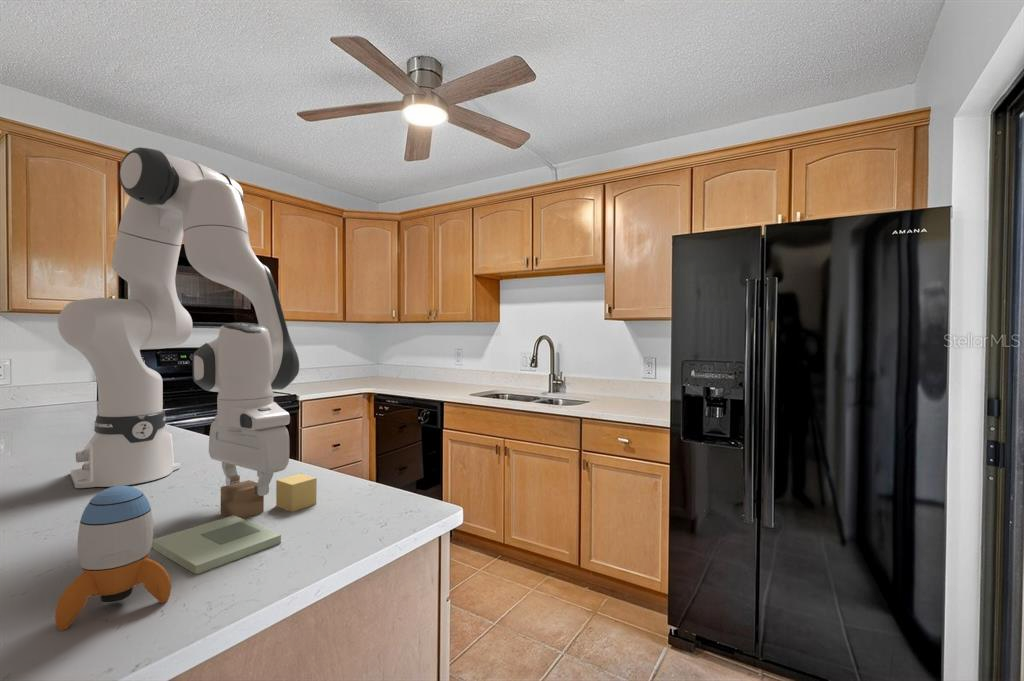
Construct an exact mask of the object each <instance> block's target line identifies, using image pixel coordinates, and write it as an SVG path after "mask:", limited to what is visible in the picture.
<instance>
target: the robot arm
mask: <svg viewBox="0 0 1024 681" xmlns="http://www.w3.org/2000/svg"><path fill="white" fill-rule="evenodd" d="M118 174H119V183H120V185H121V187H122V189H123V191H124V192H125V194H126V195H128V196H129V198H128V201H127V202H126V205H125V207H124V209H123V213H122V215H121V219H120V222H119V226H118V231H117V235H116V240H115V244H114V250H113V254H112V258H111V267H112V269H113V271H114V273H116V275H117V276H119V277H120V278H121V279H123V280H124V281H126V282H127V284H128V288H129V298H128V299H125V298H114V297H113V298H112V297H111V298H110V297H93V298H92V297H91V298H83V299H76V300H73V301H70V302H68V303H67V304H66V305H65V306H64V308H62V310H61V311H60V313H59V315H58V319H57V328H58V332H59V334H60V336H61V338H62V339H63V340H64V342H65V343H67V345H69V346H70V347H73V348H74V349H75V350H77V351H78V352H79V353H81V355H83V356H84V357H85V359H86V360H87V362H88V363H89V364H90V366H91V368H92V370H93V372H94V375H95V376H94V377H95V378H96V382H97V383H96V384H97V396H98V397H97V398H98V399H97V400H98V401H97V402H98V414H97V415H96V417H95V421H94V424H93V425H94V429H93V431H94V432H95V433H94V435H93V436H92V437H91V438H90V440H89V442H88V443H87V444H86V445H85V446H84V449H83V450H79V451H76V452H75V462H76V464H77V463H83V464H82V465H81V466H78V467H74V468H71V469H70V474H69V475H70V478H71V480H72V483H73V485H74V488H75V489H86V488H87V489H88V488H97V487H98V488H100V487H101V488H104V487H105V488H106V487H107V488H111V487H115V486H131V485H136V484H142V483H143V484H144V483H147V482H151V481H155V480H158V479H162V478H164V477H166V476H169V475H170V474H171V473H172V472H173V471H176V470H178V469H180V468H181V463H180V462H175V460H174V458H175V457H174V448H173V447H174V446H173V435H172V434H171V433H170V432H168V431H167V430H165V428H164V427H165V426H166V420H167V419H166V418H167V416H166V412H165V410H164V409H163V406H164V402H163V401H164V399H163V397H164V395H163V394H164V392H163V390H164V389H163V388H164V387H163V386H164V385H163V377H162V376H161V374H160V373H159V372H158V371H156V370H154V369H152V368H150V367H148V366H147V364H145V362H144V361H143V357H142V354H141V350H160V349H166V348H171V347H175V346H177V345H182V344H184V343H185V342H187V340H188V339H189V338H190V337H191V335H192V332H193V326H194V325H193V319H192V316H191V314H190V313H189V311H188V310H187V309H186V308H185V307H184V306H183V305H182V303H181V302H180V301H181V300H180V299H179V297H178V293H177V286H176V275H177V271H178V270H177V268H178V262H179V257H180V252H181V248H182V243H183V245H184V251H185V255H186V259H187V261H188V262H189V264H190V266H192V268H193V269H194V270H195V271H197V272H198V273H199V274H200V275H202V276H203V277H205V278H207V279H209V280H210V281H212V282H214V283H217V284H220V285H223V286H225V287H228V288H230V289H233V290H235V291H237V292H238V293H239V294H242V295H243V296H244V297H246V298H247V299H248V300H249V301H250V303H251V304H252V306H253V308H254V311H255V315H256V319H257V323H250V322H229V323H226V324H222V325H221V326H220V328H219V332H218V336H217V337H216V338H215V339H214V340H212V341H211V342H204V344H203V345H201V346H200V347H199V348H198V349H196V350H195V351H194V353H192V357H191V358H192V359H191V361H192V363H191V364H192V372H191V373H192V381H193V382H194V383H195V384H196V385H198V386H199V387H200V388H201V389H203V390H204V391H207V392H213V393H214V392H215V393H217V396H216V397H217V398H216V399H217V400H216V401H217V403H216V404H217V407H216V408H217V413H216V415H215V416H214V420H213V421H212V422H211V424H210V430H209V439H208V453H209V457H210V459H212V460H215V461H218V462H221V469H222V472H223V474H224V477H225V486H227V485H231V484H235V483H239V482H241V481H240V478H241V476H240V475H239V474H238V471H237V470H238V469H237V467H240V468H244V469H248V470H252V471H256V476H257V478H258V480H257V483H258V484H257V485H254V489H255V494H256V495H259V496H263V495H264V496H266V495H268V494H269V492H270V483H271V481H272V478H273V477H274V474H275V473H278V472H281V471H284V470H286V469H287V467H288V465H289V462H290V435H289V430H288V428H287V427H286V426H287V425H289V424H290V423H291V416H290V413H289V412H288V411H287V410H285V409H283V408H282V407H281V406H280V405H279V404H278V403H277V402H276V401H274V391H273V390H284V389H286V387H288V386H289V385H291V383H293V381H294V380H295V378H297V376H298V375H299V371H300V361H299V356H298V353H297V350H296V347H295V346H294V344H293V342H292V338H291V336H290V333H289V329H288V326H287V323H286V319H285V315H284V311H283V308H282V305H281V301H280V297H279V294H278V290H277V286H276V284H275V281H274V277H273V275H272V273H271V270H270V269H269V267H268V266H267V265H265V264H263V263H262V262H261V261H260V260H259V258H258V257H257V255H256V254H255V252H254V250H253V248H252V245H251V240H250V235H249V227H248V221H247V214H246V211H245V208H244V200H245V199H244V192H243V189H242V187H241V185H240V184H239V182H238V181H236V180H234V179H233V177H230V176H229V175H227V174H225V173H223V172H218V171H216V170H215V169H212V168H210V167H207V166H205V165H204V164H201V163H199V162H196V161H194V160H193V161H192V160H187V159H185V158H182V157H179V156H174V155H171V154H167V153H164V152H162V151H160V150H158V149H154V148H148V147H135V148H134V149H132V150H130V151H129V152H128V153H126V154H125V156H124V157H123V159H122V161H121V164H120V167H119V173H118Z"/></svg>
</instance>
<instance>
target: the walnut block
mask: <svg viewBox="0 0 1024 681" xmlns="http://www.w3.org/2000/svg"><path fill="white" fill-rule="evenodd" d="M257 484H258V482H256V481H253V480H250V479H248V480H243V481H240V482H239V483H235V484H231V485H223V486H220V515H221V516H223V517H225V516H226V517H229V516H233V515H235V516H237V517H239V518H242V519H245V518H246V519H247V518H248V517H252V516H256V515H260V514H262V513H264V512H265V511H264V507H265V505H264V501H265V500H264V499H265V495H263V496H259V495H256V494H255V489H254V485H257ZM226 517H225V518H226Z"/></svg>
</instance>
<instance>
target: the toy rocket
mask: <svg viewBox="0 0 1024 681" xmlns="http://www.w3.org/2000/svg"><path fill="white" fill-rule="evenodd" d="M153 537H154V518H153V512H152V508H151V504H150V502H149V499H148V498H147V496H146V495H145V494H144V493H143V491H141V490H140V489H138V488H136V487H133V486H131V485H124V486H112V487H107V488H106V489H103V490H101V491H99V492H98V493H97V494H95V495H94V496H93V497H92V498H91V499H90V500H89V502H88V504H87V505H86V506H85V508H84V510H83V512H82V514H81V517H80V522H79V526H78V534H77V555H78V560H79V565H80V567H81V570H82V573H81V574H80V575H78V576H77V577H76V578H75V579H73V580H72V581H71V582H70V584H69V585H68V586H67V587H66V588H65V590H64V591H63V593H62V594H61V595H60V597H59V599H58V601H57V603H56V607H55V611H54V612H55V613H54V619H55V620H54V621H55V626H56V628H57V629H58V631H60V632H62V631H65V630H67V629H68V628H69V627H70V626H71V625H72V624H73V622H74V620H75V619H76V617H78V615H79V614H80V612H81V611H82V610H83V609H84V608H85V606H86V603H88V602H87V601H88V598H89V597H91V596H97V595H98V596H100V601H101V602H102V603H107V604H108V603H116V602H119V601H122V600H124V599H126V598H128V597H130V596H131V595H132V594H133V587H135V586H138V585H140V584H143V587H144V588H145V590H146V591H147V592H148V593H149V594H150V595H151V596H152V597H154V599H156V600H157V601H158V602H159V603H160V604H164V603H167V602H168V600H169V599H170V597H171V589H172V582H171V578H170V575H169V572H167V570H166V569H165V568H164V566H162V565H161V564H160V562H157V561H155V560H153V559H152V558H149V556H150V553H151V549H152V548H151V546H152V540H153V539H154V538H153Z"/></svg>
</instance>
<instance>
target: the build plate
mask: <svg viewBox="0 0 1024 681" xmlns="http://www.w3.org/2000/svg"><path fill="white" fill-rule="evenodd" d="M281 543H282V535H281V534H280V533H278V532H275V531H272V530H271V529H270V530H269V529H268V528H265V527H263V526H260V525H259V524H256V523H253V522H251V521H249V520H246V519H245V518H243V519H242V518H239V517H237V516H235V515H233V516H229V517H222V518H220V519H216V520H213V521H210V522H206V523H203V524H199V525H197V526H194V527H189V528H186V529H183V530H180V531H176V532H174V533H170V534H167V535H163V536H159V537H156V538H153V540H152V546H151V549H152V550H154V551H156V552H158V553H159V554H161V555H162V556H164V557H166V558H168V559H169V560H171V561H173V562H174V563H175V564H178V565H179V566H181V567H183V568H184V569H186V570H188V571H189V572H191V573H192V574H194V575H199V574H202V573H204V572H207V571H210V570H212V569H215V568H218V567H221V566H223V565H225V564H229V563H230V562H233V561H237V560H239V559H241V558H244V557H247V556H250V555H252V554H254V553H258V552H260V551H263V550H265V549H268V548H270V547H273V546H277V545H278V544H281Z"/></svg>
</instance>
